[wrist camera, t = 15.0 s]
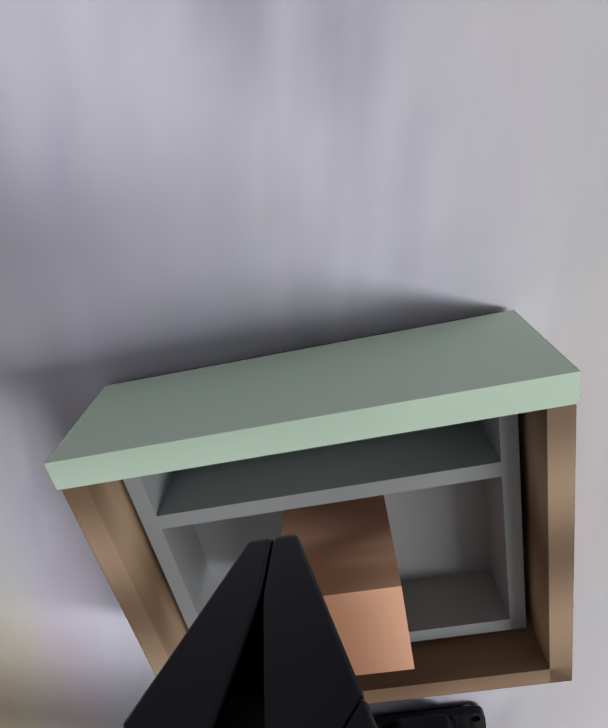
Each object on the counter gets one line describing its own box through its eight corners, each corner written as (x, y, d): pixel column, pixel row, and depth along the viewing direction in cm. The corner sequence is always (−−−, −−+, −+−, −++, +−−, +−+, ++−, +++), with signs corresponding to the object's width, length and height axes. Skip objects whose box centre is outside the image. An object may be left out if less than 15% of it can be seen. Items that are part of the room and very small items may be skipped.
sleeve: (522, 574, 24) (572, 680, 19) (204, 617, 25) (180, 725, 21) (512, 335, 19) (576, 402, 14) (116, 407, 20) (60, 488, 16)
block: (381, 484, 21) (401, 586, 16) (393, 557, 22) (414, 668, 18) (283, 498, 21) (276, 602, 16) (302, 569, 23) (300, 681, 18)
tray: (523, 559, 23) (574, 665, 19) (196, 604, 25) (170, 712, 20) (513, 309, 18) (580, 371, 14) (105, 385, 20) (43, 463, 15)
